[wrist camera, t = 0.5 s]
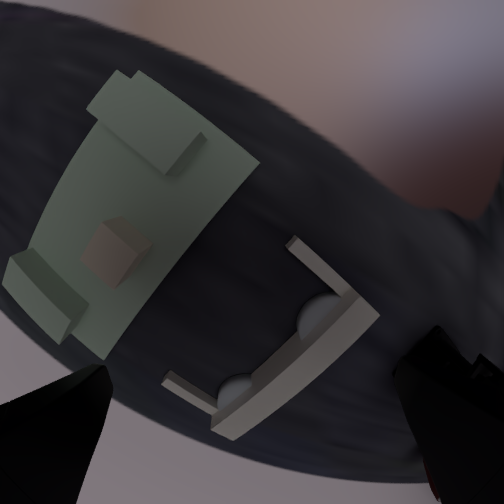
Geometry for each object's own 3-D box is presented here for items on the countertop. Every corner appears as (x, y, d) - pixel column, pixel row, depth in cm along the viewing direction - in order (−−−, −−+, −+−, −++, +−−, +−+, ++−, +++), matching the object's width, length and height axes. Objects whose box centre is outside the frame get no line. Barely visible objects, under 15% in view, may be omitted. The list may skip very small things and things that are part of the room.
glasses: (372, 307, 21) (389, 324, 18) (243, 422, 23) (244, 445, 21) (294, 234, 19) (304, 243, 17) (164, 376, 22) (156, 398, 19)
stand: (259, 163, 18) (263, 158, 14) (107, 354, 21) (89, 380, 17) (143, 74, 16) (123, 54, 12) (23, 274, 19) (-4, 288, 16)
